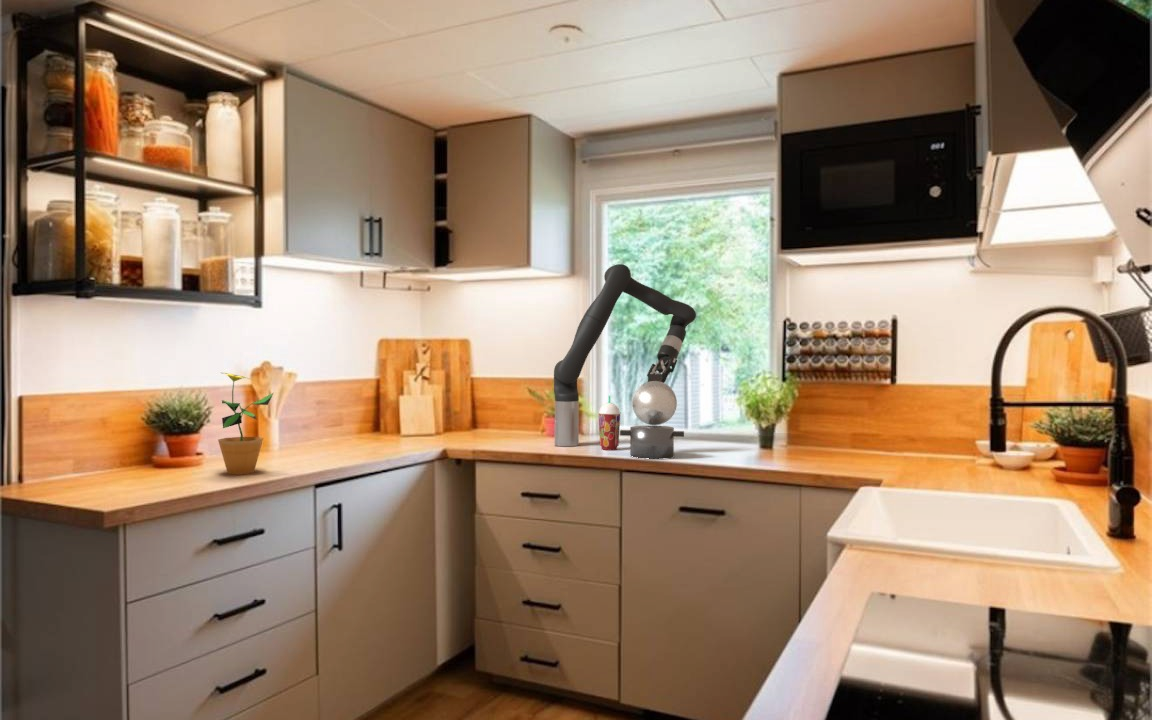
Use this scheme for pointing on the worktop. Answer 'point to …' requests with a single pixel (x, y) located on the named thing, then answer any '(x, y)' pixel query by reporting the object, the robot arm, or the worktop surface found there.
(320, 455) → the worktop surface
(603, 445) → the smoothie
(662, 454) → the cooker pot
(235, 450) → the potted plant
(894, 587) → the worktop surface
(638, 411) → the lid
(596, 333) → the robot arm
